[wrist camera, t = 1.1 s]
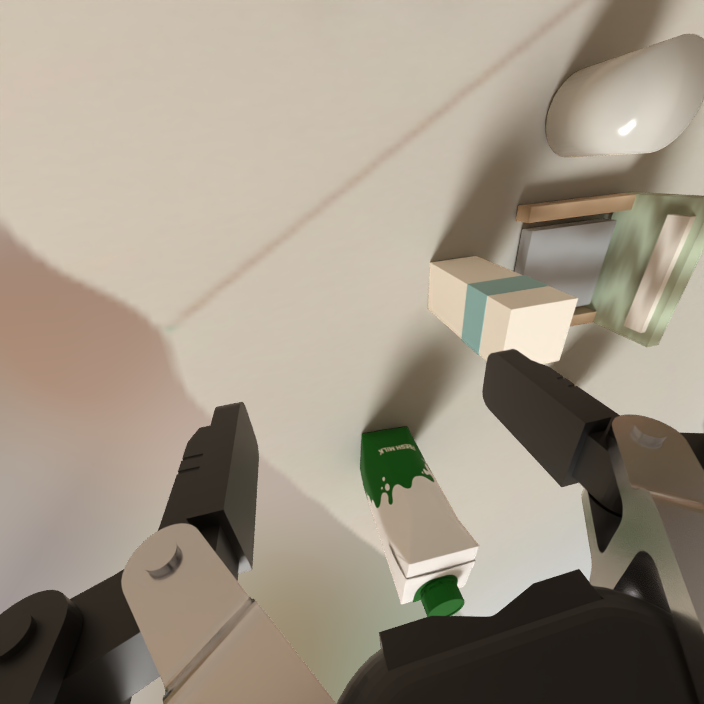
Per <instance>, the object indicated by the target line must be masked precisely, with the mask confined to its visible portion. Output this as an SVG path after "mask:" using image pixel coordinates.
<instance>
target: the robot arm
mask: <svg viewBox="0 0 704 704" xmlns="http://www.w3.org/2000/svg"><path fill="white" fill-rule="evenodd" d="M483 399H484V402H485V404H486V406H487V407H488V409H489V410H490V411H491V412H492V413H493V414H494V415H495V416H496V417H497V418H498V419H499V420H500V422H501V423H502V424H503V425H504V426H505V427H506V428H507V429H508V430H509V431H510V432H511V433H512V434H513V436H514V437H515V438H516V439H517V440H518V441H519V442H520V443H521V444H522V445H523V446H524V447H525V448H526V450H527V451H528V452H529V453H530V454H531V455H532V456H533V457H534V458H535V459H536V460H537V461H538V462H539V463H540V465H541V466H542V467H543V468H544V469H545V470H546V471H547V472H548V473H549V474H550V475H551V476H552V477H553V479H554V480H555V481H556V482H557V483H558V484H559V485H560V486H561V487H564V486H568V485H572V484H575V483H580V484H581V485H582V486H583V487H584V489H583V491H582V503H583V509H584V516H585V522H586V528H587V534H588V540H589V546H590V552H591V559H592V569H591V575H590V582H589V581H588V580H587V579H586V577H585V576H584V575H583V573H582V572H581V571H580V570H579V569H578V570H575V571H572V572H568V573H565V574H562V575H559V576H556V577H553V578H550V579H546V580H543V581H540V582H537V583H534V584H532V585H531V586H530V587H529V588H527V589H526V590H525V591H524V592H523V593H521V594H520V595H519V596H518V597H517V598H515V599H514V600H513V601H512V602H510V603H509V604H508V605H507V606H506V607H504V608H503V609H502V610H501V611H499V612H498V613H497V614H495V615H493V616H490V617H470V616H429V617H426V618H423V619H420V620H417V621H414V622H410V623H407V624H404V625H401V626H398V627H395V628H392V629H388V630H385V631H382V632H379V636H380V645H381V649H380V650H379V651H378V652H376V653H375V654H374V655H372V656H371V657H370V658H369V659H368V660H367V661H366V662H365V663H364V664H363V665H362V666H361V667H360V668H359V669H358V671H357V672H356V673H355V675H354V676H353V677H352V679H351V680H350V681H349V683H348V684H347V686H346V688H345V689H344V691H343V693H342V695H341V696H340V698H339V700H338V702H337V704H704V433H679V432H678V431H677V430H675V429H673V428H672V427H670V426H668V425H667V424H665V423H662V422H660V421H658V420H655V419H652V418H649V417H645V416H640V415H621V416H620V415H618V414H617V413H615V412H614V411H613V410H611V409H610V408H608V407H607V406H605V405H604V404H602V403H601V402H599V401H598V400H597V399H595V398H594V397H592V396H591V395H589V394H588V393H586V392H585V391H583V390H582V389H580V388H579V387H578V386H576V387H575V386H574V384H573V383H572V382H570V381H569V380H567V379H566V378H564V379H563V376H561V375H560V374H559V373H557V372H556V371H554V370H553V369H551V368H550V367H548V366H545V365H543V364H540V363H538V362H535V361H533V360H530V359H529V358H527V357H526V356H525V355H523V354H522V353H520V352H519V351H517V350H515V349H510V350H505V351H499V352H494V353H491V354H490V355H489V356H488V358H487V363H486V370H485V377H484V384H483ZM258 462H259V452H258V445H257V440H256V437H255V434H254V431H253V428H252V425H251V422H250V419H249V416H248V413H247V410H246V407H245V405H244V403H243V402H239V403H234V404H229V405H224V406H219V407H216V408H215V411H214V414H213V418H212V422H211V426H206V427H201V428H199V429H198V431H197V432H196V433H195V434H194V435H193V437H192V438H191V439H190V440H189V441H188V443H187V446H186V449H185V452H184V455H183V461H181V464H180V467H179V470H178V475H177V476H176V479H175V482H174V485H173V488H172V491H171V494H170V497H169V500H168V503H167V506H166V509H165V512H164V515H163V518H162V521H161V524H160V527H159V529H158V531H157V532H156V533H154V534H153V535H151V536H150V537H149V538H147V539H146V540H145V541H144V542H143V543H142V544H141V545H140V546H139V547H138V548H137V549H136V550H135V552H134V553H133V554H132V556H131V557H130V559H129V560H128V562H127V565H126V566H125V569H123V570H122V571H120V572H119V573H117V574H115V575H114V576H112V577H110V578H108V579H106V580H104V581H103V582H101V583H99V584H97V585H95V586H93V587H92V588H90V589H88V590H86V591H84V592H82V593H80V594H79V595H77V596H75V597H73V598H71V599H69V598H67V597H66V596H65V595H64V594H63V593H61V592H59V591H56V590H46V591H42V592H38V593H35V594H33V595H30V596H28V597H26V598H24V599H22V600H21V601H19V602H17V603H16V604H14V605H13V606H11V607H10V608H9V609H7V610H6V611H4V612H3V613H2V614H1V615H0V704H130V702H131V698H132V696H133V695H134V694H135V693H137V692H138V691H140V690H141V689H143V688H144V687H145V686H147V685H148V684H150V683H151V682H152V681H154V680H155V679H157V678H158V677H161V679H162V682H163V684H164V687H165V695H164V696H163V704H336V702H335V701H334V700H333V699H332V697H331V696H330V695H329V693H328V692H327V691H326V690H325V688H324V687H323V686H322V684H321V683H320V682H319V680H317V678H316V677H315V675H314V674H313V673H312V671H311V670H310V669H309V668H308V666H307V665H306V664H305V662H303V660H302V659H301V657H300V656H299V655H298V653H297V652H296V651H295V650H294V648H293V647H292V646H291V644H290V643H289V642H288V641H287V639H286V638H285V637H284V635H283V634H282V633H281V632H280V630H279V629H278V628H277V626H276V625H275V624H274V622H273V621H272V620H271V619H270V617H269V616H268V615H267V614H266V612H265V611H264V610H263V609H262V607H261V606H260V605H259V604H258V603H257V602H256V601H255V600H254V599H251V598H250V597H249V596H248V594H247V593H246V592H245V591H244V589H243V588H242V587H241V585H240V584H239V583H238V574H239V573H242V572H246V571H250V570H252V564H253V548H254V531H255V514H256V498H257V480H258Z"/></svg>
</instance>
